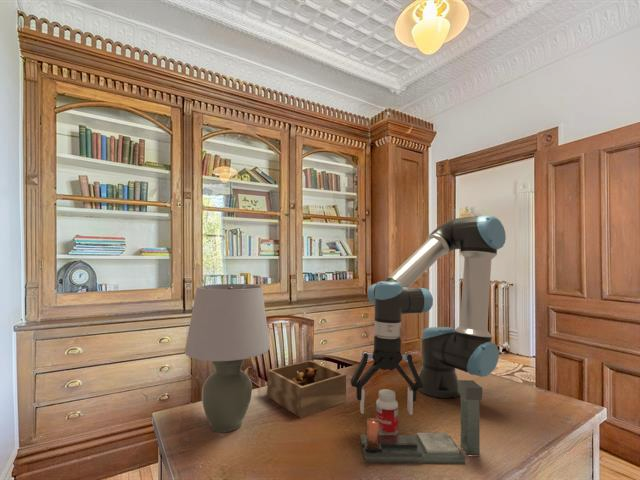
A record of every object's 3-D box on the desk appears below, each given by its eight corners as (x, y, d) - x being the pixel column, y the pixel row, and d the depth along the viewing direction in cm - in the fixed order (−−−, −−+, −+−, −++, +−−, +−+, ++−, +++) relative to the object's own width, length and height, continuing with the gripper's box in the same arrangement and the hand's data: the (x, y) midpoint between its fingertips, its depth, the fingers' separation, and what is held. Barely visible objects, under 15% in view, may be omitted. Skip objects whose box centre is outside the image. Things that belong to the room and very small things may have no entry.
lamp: (282, 431, 94) (285, 288, 96) (194, 459, 80) (199, 292, 82) (248, 400, 113) (252, 282, 115) (173, 418, 100) (178, 284, 102)
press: (363, 463, 80) (364, 390, 81) (358, 440, 90) (359, 376, 90) (488, 464, 80) (487, 392, 81) (469, 441, 90) (469, 377, 91)
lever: (365, 453, 81) (365, 423, 81) (363, 446, 84) (364, 417, 84) (382, 453, 81) (382, 424, 81) (379, 446, 84) (379, 418, 84)
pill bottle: (371, 432, 94) (371, 392, 94) (382, 424, 98) (382, 386, 99) (391, 440, 90) (391, 398, 90) (401, 431, 94) (402, 392, 95)
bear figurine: (315, 389, 124) (316, 356, 124) (327, 407, 109) (328, 369, 110) (279, 393, 120) (280, 358, 121) (286, 412, 106) (287, 373, 106)
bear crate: (267, 396, 117) (267, 370, 117) (309, 383, 129) (310, 360, 129) (300, 418, 101) (301, 388, 102) (345, 401, 113) (346, 374, 114)
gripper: (345, 337, 92) (342, 417, 90) (435, 340, 92) (434, 419, 91) (342, 331, 99) (340, 405, 98) (426, 334, 99) (425, 407, 98)
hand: (385, 412), depth 94 cm, fingers open, 13 cm apart
